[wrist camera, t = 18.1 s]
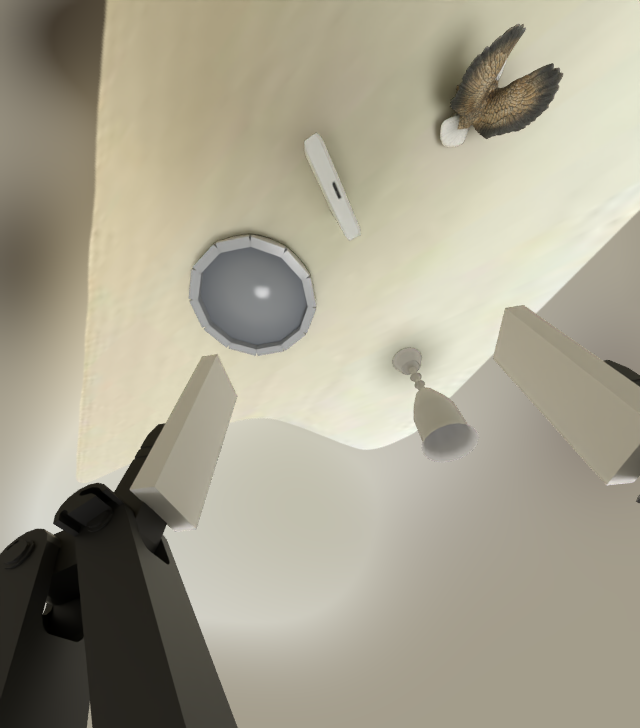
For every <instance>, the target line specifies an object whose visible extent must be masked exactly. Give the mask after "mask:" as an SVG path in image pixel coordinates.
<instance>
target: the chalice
mask: <svg viewBox="0 0 640 728" xmlns="http://www.w3.org/2000/svg"><path fill="white" fill-rule="evenodd" d="M421 358H422V356H421V353H420V351H419V350H417V349H415V348H411V347H409V348H404V349H402V350H400V351H399V352H397V353H396V354H395V356H394V358H393V366H394V367H395V368H396V369H397V370H399V371H400V372H402V373H403V374H407V375H409V374H411V377H410V379H411V380H412V381H414V382H415V388H417V389H418V390H419V391H418V392H417V394H416V398H415V403H414V422H415V424H416V427H417V429H418V432H419V434H420V436H421V439H422V441H423V444H422V451H423V454H424V455H425V456H426V457H427V458H428V459H430V460H432V461H436V462H449V461H453V460H457V459H460V458H462V457H463V456H465V455H467V454H468V453H470V452H471V451H472V450H473V449H474V448H475V446H476V445H477V443H478V439H479V436H478V432H477V431H476V430H475V429H474V427H472V426H470V425H468V424H467V422H466V421H465V419H464V418H463V416H462V414H461V413H460V411H459V410H458V408H457V407H456V405H455V404H454V402H453V401H451V400H450V399H449V398H447V397H446V396H445V395H443V394H441V393H439V392H437V391H435V390H433V389H431V388H425V387H424V385H425V382H424V381H421V380H420V379H421V374H420V373H417V371H418V370H419V369H420V366H421Z"/></svg>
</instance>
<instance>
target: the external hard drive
mask: <svg viewBox="0 0 640 728" xmlns="http://www.w3.org/2000/svg"><path fill="white" fill-rule="evenodd" d="M304 152H305V156H306V158H307V160H308V162H309V164H310V167H311V169H312V171H313V173H314V175H315V177H316V180H317V182H318V184H319V186H320V188H321V190H322V193H323V195H324V197H325V199H326V201H327V203H328V206H329V208H330V210H331V212H332V214H333V216H334V218H335V220H336V221H337V223H338V225H339V226H340V228H341V230H342V231H343V233H344V235H345V236H346V238H347V239H348V240H350V241H351V240H352V239H354V238H356V237H357V236H360V235H361V230H360V226H359V224H358V221H357V219H356V216H355V214H354V212H353V209H352V207H351V205H350V202H349V200H348V197H347V195H346V193H345V190H344V188H343V186H342V183H341V181H340V178H339V176H338V174H337V171H336V169H335V167H334V164H333V162H332V160H331V157H330V155H329V153H328V150H327V148H326V146H325V143H324V141H323V139H322V137H321V136H320V135H319V134H318V133H317V132H316V133H315V134H313V135H312V136H311V137H309V138H308V139H306V140H305V141H304Z"/></svg>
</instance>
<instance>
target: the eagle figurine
mask: <svg viewBox="0 0 640 728" xmlns="http://www.w3.org/2000/svg"><path fill="white" fill-rule="evenodd" d="M523 27H524V24H522V25H521V26H520V24H517V25H515V26H514V27H511V28H510V29H508V30H507V31H506V32H505V33H504V34H503V35H502V36H500V37H498V38H497V39H496V40H495V41H494V42H493V43H492V45H491V46H490V47H488V46H487V47H486V48H485V49H484V51H483V52H482V54H479V55H478V56H477V57H476V58H475V59H474V60H473V62H472V63H471V65H470V66H469V67H468V69H467V70H466V73H465V74H464V76H463V78H462V80H463V81H462V82H461V84H460V85H457V86H456V90H457V94H456V95H455V97H453V99H451V102H450V104H451V105H450V107H451V108H452V109H454V111H455V113H453V114H452V116H451V117H450V118H448V119H446V120H445V121H444V122H443V123H442V126H441V132H440V139H441V141H442V145H445V146H446V147H456V146H459V145H462V144H463V142H464V140H465V138H466V135H467V132H468V130H469V127H470V126H471V125H474V127H475V130H476V131H477V132H478V133H480V135H482V136H483V137H484V138H486V139H488V138H490V137H492V136H496V135H502V134H505V133H510V132H512V131H514V132H515V131H519V130H521V129H524V128H525V126H526V125H530V123H531V122H533V121H535V120H536V118H537V117H538V116H540V115H541V114H542V112H543V111H545V110H546V109H547V108H548V107H549V103H550V102H551V101H552V100H553V99H554V95H555V93H556V92H557V91H558V89H559V85H558V83H559V82H560V80H561V79H562V77H563V73H560V68H555V69H554V64H553V63H552V64H549V65H546V66H543V67H541V68H539V69H537V70H535V71H533V72H532V73H530V74H528V75H526V76H524V77H522V78H519V79H517V80H515V81H513V82H512V83H510V84H509V85H507V86H506V87H504V88H498V81H499V79H500V76H501V74H502V71H503V69H504V66H505V64H506V61H507V58H508V56H509V54H510V52H511V51H512V49H513V48H514V46H515V44H516V43H517V42H518V40H519V39H520V37H521V36H522V35H523V33H524V32H525V30H526V28H523Z"/></svg>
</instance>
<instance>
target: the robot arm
mask: <svg viewBox="0 0 640 728" xmlns="http://www.w3.org/2000/svg"><path fill="white" fill-rule="evenodd" d="M493 359H494V360H495V362H496V363H497V364H498V365H499V366H500V367H501V368H502V369H503V370H504V371H505V373H506V374H507V375H508V376H509V377H510V378H511V379H512V381H513V382H514V383H515V384H516V385H517V386H518V387H519V388H520V389H521V391H522V392H523V393H524V394H525V395H526V396H527V397H528V398H529V400H530V401H531V402H532V403H533V404H534V405H535V406H536V407H537V408H538V410H539V411H540V412H541V413H542V414H543V415H544V416H545V418H547V420H548V421H549V422H550V423H551V424H552V425H553V426H554V427H555V429H556V430H557V431H558V432H559V433H560V434H561V435H562V436H563V438H564V439H565V440H566V441H567V442H568V443H569V444H570V445H571V447H572V448H573V449H574V450H575V451H576V452H577V453H578V454H579V455H580V457H581V458H582V459H583V460H584V461H585V462H586V463H587V464H588V465H589V467H590V468H591V469H592V470H593V471H594V472H595V473H596V474H597V476H598V477H599V478H600V479H601V480H602V481H603V482H604V483H605V484H606V485H615V484H624V483H633V482H634V481H635V480H636V479H637V478H638V477H639V476H640V375H638V374H637V373H635V372H634V371H632V370H631V369H629V368H627V367H625V366H622V365H620V364H617V363H615V362H613V361H610V360H605V361H602V360H601V359H599V358H598V357H597V356H595V355H594V354H592V353H591V352H589V351H588V350H587V349H585V348H584V347H582V346H581V345H580V344H578V343H577V342H575V341H574V340H572V339H571V338H570V337H568V336H567V335H565V334H564V333H562V332H561V331H560V330H558V329H557V328H555V327H554V326H552V325H551V324H550V323H548V322H547V321H545V320H544V319H542V318H541V317H540V316H538V315H537V314H535V313H534V312H533V311H531V310H530V309H528V308H527V307H525V306H524V305H521V306H515V307H509V308H505V311H504V315H503V319H502V323H501V327H500V331H499V336H498V340H497V344H496V348H495V352H494V356H493ZM236 399H237V394H236V392H235V390H234V388H233V386H232V384H231V382H230V380H229V377H228V375H227V373H226V371H225V369H224V367H223V365H222V363H221V361H220V358H219V356H218V354H215V355H209V356H203V357H202V358H201V360H200V361H199V363H198V365H197V367H196V369H195V371H194V372H193V374H192V376H191V378H190V380H189V381H188V383H187V385H186V387H185V389H184V391H183V392H182V394H181V396H180V398H179V400H178V402H177V403H176V405H175V407H174V409H173V411H172V413H171V414H170V416H169V418H168V420H167V422H166V423H165V424H158V425H157V426H156V427H155V428H154V429H153V430H152V431H151V432H150V433H149V434H148V435H147V437H146V439H145V441H144V442H143V444H142V446H141V449H140V450H139V451H138V452H137V454H136V456H135V459H134V460H133V461H132V463H131V464H130V466H129V468H128V470H127V471H126V473H125V475H124V477H123V478H122V480H121V481H120V483H119V485H118V487H117V489H116V490H115V492H112V491H111V490H110V489H109V488H108V487H107V486H105V485H104V484H101V483H95V484H90V485H88V486H86V487H84V488H82V489H80V490H78V491H77V492H76V493H74V494H73V495H72V496H70V497H69V498H68V499H67V500H66V501H65V502H64V503H63V504H62V505H61V507H60V508H59V510H58V511H57V513H56V515H55V518H54V522H53V524H55V525H56V526H58V527H59V528H61V529H63V531H61V532H59V533H56V534H54V535H53V534H51V533H50V532H48V531H46V530H45V529H35V530H32V531H29V532H27V533H25V534H23V535H22V536H20V537H18V538H17V539H16V540H14V541H13V542H12V543H11V544H10V545H8V546H7V547H6V548H5V549H4V551H3V552H2V553H1V554H0V728H87V720H88V711H89V703H90V705H91V716H92V727H93V728H237V725H236V722H235V719H234V717H233V714H232V712H231V709H230V706H229V704H228V701H227V698H226V696H225V693H224V691H223V688H222V685H221V682H220V680H219V677H218V674H217V672H216V669H215V666H214V664H213V661H212V659H211V656H210V653H209V651H208V648H207V645H206V643H205V640H204V637H203V635H202V632H201V629H200V627H199V624H198V621H197V619H196V616H195V614H194V611H193V608H192V606H191V603H190V600H189V598H188V595H187V593H186V590H185V587H184V584H183V582H182V579H181V576H180V574H179V571H178V568H177V566H176V563H175V560H174V558H173V555H172V552H171V550H170V547H169V545H168V542H167V539H166V538H165V537H164V536H163V532H164V529H165V527H166V525H168V526H169V527H170V528H172V529H173V530H174V531H175V532H177V531H187V530H196V528H197V525H198V522H199V519H200V515H201V512H202V509H203V506H204V503H205V499H206V496H207V493H208V489H209V486H210V483H211V480H212V477H213V473H214V470H215V467H216V464H217V460H218V457H219V454H220V451H221V448H222V444H223V441H224V438H225V434H226V431H227V428H228V425H229V422H230V418H231V415H232V412H233V409H234V405H235V402H236ZM636 502H638V503H640V495H639V496H638V498H637V501H636ZM45 602H46V603H47V604H46V608H45V611H44V613H43V610H44V606H45Z"/></svg>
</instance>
